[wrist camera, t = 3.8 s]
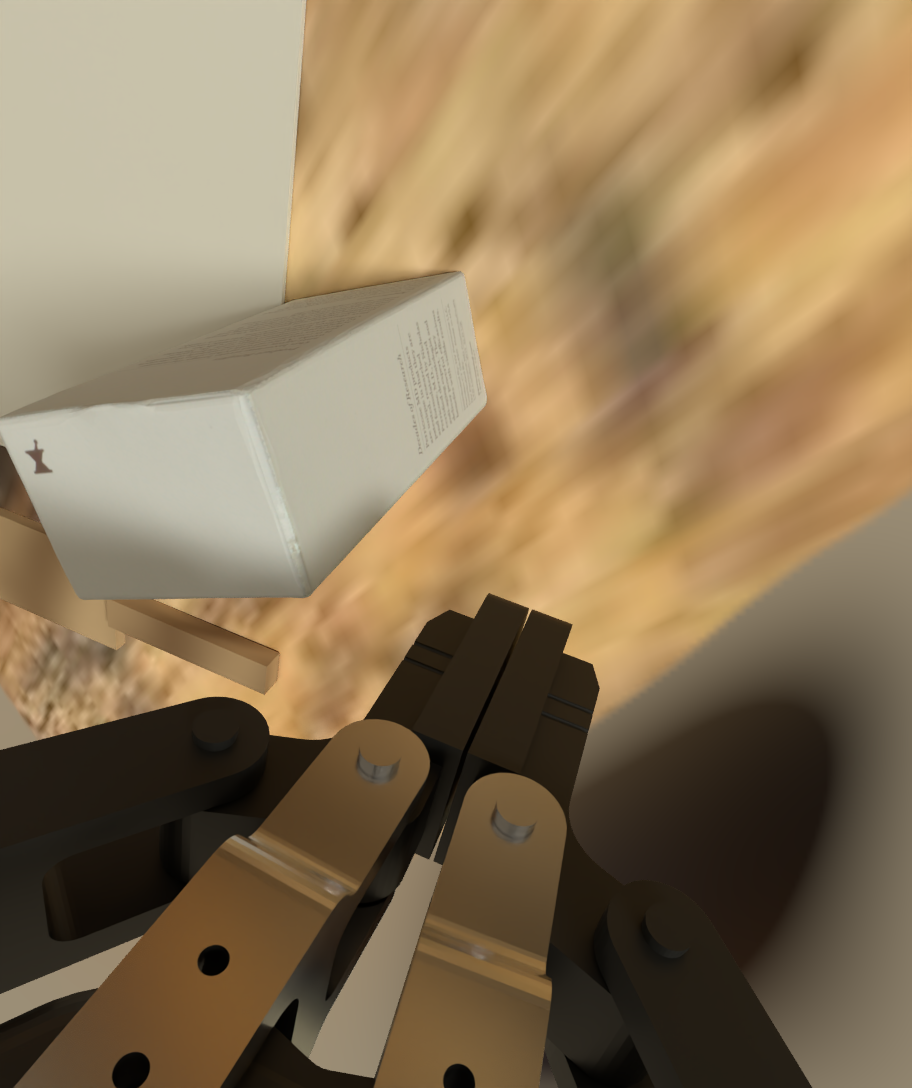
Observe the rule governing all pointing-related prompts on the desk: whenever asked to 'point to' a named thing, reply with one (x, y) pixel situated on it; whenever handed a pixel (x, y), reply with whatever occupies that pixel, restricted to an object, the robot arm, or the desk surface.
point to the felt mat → (139, 178)
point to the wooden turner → (120, 611)
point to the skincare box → (251, 444)
